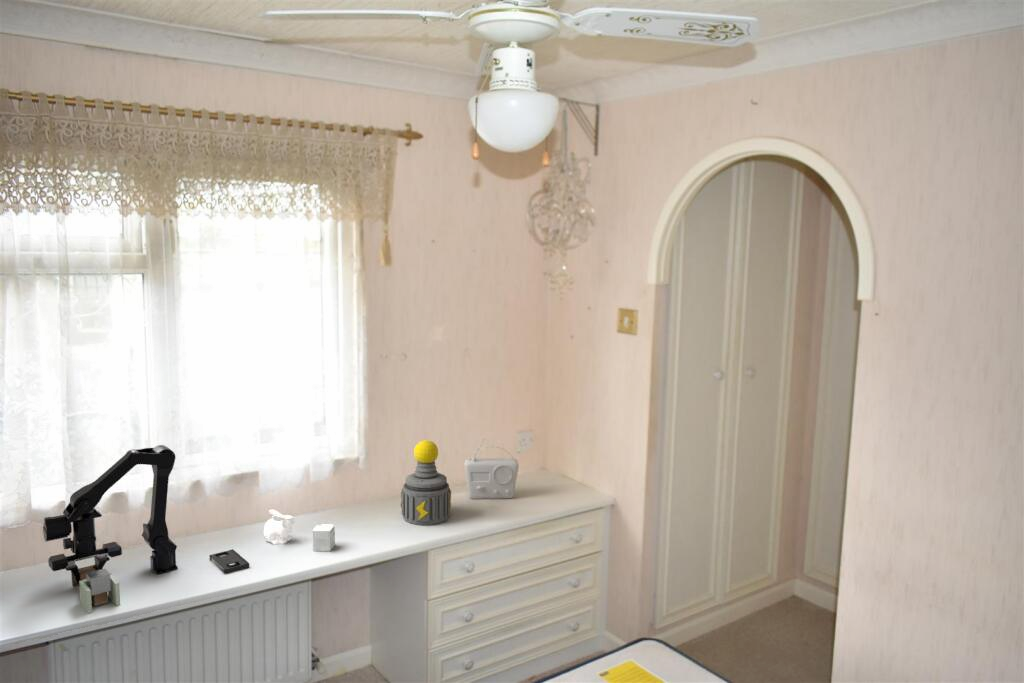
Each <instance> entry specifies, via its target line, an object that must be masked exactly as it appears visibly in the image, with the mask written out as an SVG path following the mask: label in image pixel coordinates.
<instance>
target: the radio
mask: <svg viewBox="0 0 1024 683" xmlns="http://www.w3.org/2000/svg"><path fill="white" fill-rule="evenodd" d="M484 440H485V438H481V441H480V443H479V445H478V446H477V448H476V450H475V451H474V452H473V453H472V454H471V455H470V457H469V458H466V459H465V460H464V472H465V478H466V484H467V491H468V492H467V493H468V498H469V499H470V500H487V499H488V500H495V499H499V500H500V499H501V500H502V499H503V500H504V499H509V500H510V499H512V498H514V496H515V489H516V484H517V477H518V472H519V466H520V465H519V463H518V459H516V458H514V457H513V455H512V454H510V452H508V451H507V450H506V449H505V448H502V447H499V446H494V445H491V446H484V447H482V448H480V447H481V446H482V444H483V442H484ZM486 448H487V449H489V448H496V449H500V450H502V451H504V452H506V453H507V454H509V455H510V456H511V457H507V458H506V457H505V458H504V457H503V458H499V457H496V458H488V457H487V458H476V457H475V456H476V454H477V452H478V451H481V450H483V449H486Z"/></svg>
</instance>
